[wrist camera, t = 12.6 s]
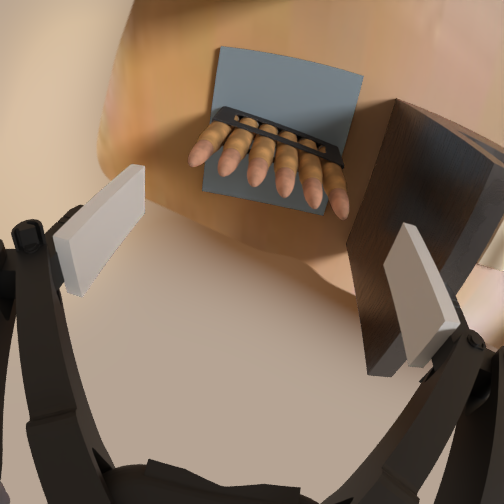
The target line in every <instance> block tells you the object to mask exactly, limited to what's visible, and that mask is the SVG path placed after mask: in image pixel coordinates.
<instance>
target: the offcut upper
mask: <svg viewBox="0 0 504 504" xmlns="http://www.w3.org/2000/svg"><path fill="white" fill-rule="evenodd" d="M477 263H478V264H480V265H484V266H487V267H490V268H493V269H496V270H499V271H502V272H504V214H503V216H502V218H501V220H500V222H499V224H498V226H497V228H496V230H495V231H494V233H493V235H492V237H491V239H490V241H489V242H488V244H487V246H486V248H485V249H484V251H483V253H482V254H481V256H480V258H479V260H478V261H477Z"/></svg>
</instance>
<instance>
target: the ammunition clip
mask: <svg viewBox="0 0 504 504" xmlns="http://www.w3.org/2000/svg"><path fill="white" fill-rule="evenodd" d="M211 122H212V123H211V124H210V125H209V126H208V127H207V128H206V129H205V130H204V131H203V132H202V133H201V134H200V136H199V138H198V141H197V142H196V144H195V145H194V146H193V148H192V149H191V151H190V154H189V157H188V164H189V166H190V167H196V166H199V165H201V164H203V163H204V162H205V161H206V160H207V159H209V157H210V156H211V155H212V154H213V153H215V152H217V151H218V150H219V149H220V148H221V147H222V146H223V152H222V154H221V156H220V158H219V161H218V173H219V175H220V176H222V177H225V176H228V175H230V174H231V173H232V172H233V171H234V170H235V169H236V168H237V166H238V164H239V163H240V161H241V160H242V159H243V158H245V156H246V155H247V154H249V157H248V160H249V164H248V169H247V179H248V183H249V184H250V186H252V187H257V186H258V185H260V184H261V183H262V182H263V180H264V178H265V177H266V175H267V171H268V169H269V167H270V166H271V164H272V163H274V172H275V183H276V189H277V191H278V193H279V195H280V196H281V197H283V198H286V197H288V196H289V195H290V194H291V192H292V190H293V188H294V184H295V177H296V173H297V172H299V180H300V182H301V184H302V188H303V193H304V197H305V199H306V201H307V203H308V205H309V206H310V207H311V208H312V209H317V208H318V207H319V206H320V204H321V201H322V196H323V190H322V184H323V188H324V191H325V193H326V194H327V196H328V199H329V201H330V204H331V207H332V209H333V211H334V213H335V214H336V215H337V217H338V218H340V219H341V220H346V219H347V217H348V214H349V199H348V194H347V183H346V180H345V177H344V175H343V172H342V169H343V168H344V163H343V160H342V157H341V154H340V151H339V148H338V147H337V146H335V145H332V144H330V143H328V142H325V141H323V140H320V139H318V138H315V137H313V136H310V135H308V134H305V133H303V132H300V131H297V130H295V129H292V128H289V127H287V126H284V125H281V124H278V123H276V122H273V121H270V120H267V119H264V118H261V117H258V116H255V115H252V114H249V113H246V112H243V111H240V110H237V109H234V108H230V107H227V106H222V108H221V109H220V110H219V111H218V112H217V114H216V115H215V116H214V117H213V118H212V121H211ZM230 134H231V135H230ZM228 137H229V138H228ZM253 140H254V142H253V145H252V147H251V149H249V148H250V146H251V144H252V141H253ZM275 148H276V152H275ZM274 152H275V157H274ZM341 168H342V169H341Z"/></svg>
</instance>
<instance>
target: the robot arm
mask: <svg viewBox="0 0 504 504" xmlns="http://www.w3.org/2000/svg"><path fill="white" fill-rule="evenodd" d="M144 214H145V166H142V165H136V164H131V165H130V166H128V167H127V168H126V169H125V170H124V171H122V172H121V173H120V174H119V175H118V176H116V177H115V178H114V179H113V180H112V181H111V182H110V183H108V184H107V185H106V186H105V187H104V188H103V189H101V190H100V191H99V192H98V193H97V194H96V195H95V196H94V197H93V198H92V199H90V200H89V201H88V202H87V203H86V204H85V205H78V206H76V207H74V208H72V209H70V210H69V211H68V212H67V213H66V214H65V215H64V216H63V217H62V218H61V219H60V220H59V221H58V223H57V222H56V223H55V224H54V225H53V226H52V227H51V228H50V229H49V230H48V231H47V232H46V233H45V234H44V230H43V225H42V223H41V222H40V221H39V220H34V219H31V220H26V221H23V222H21V223H19V224H17V225H16V226H15V227H14V228H13V229H12V232H11V235H12V239H13V242H14V245H15V249H5V247H4V244H3V242H2V240H1V239H0V480H1V471H2V452H3V448H2V436H3V430H2V429H3V408H4V394H5V382H6V374H7V365H8V358H9V351H10V345H11V339H12V334H13V328H14V323H15V318H16V317H17V332H18V343H19V353H20V362H21V369H22V376H23V383H24V389H25V394H26V399H27V405H28V410H29V415H30V421H29V422H27V424H26V432H27V438H28V442H29V446H30V449H31V453H32V457H33V460H34V463H35V467H36V470H37V473H38V476H39V479H40V482H41V485H42V488H43V491H44V494H45V496H46V499H47V502H48V504H319V503H317V502H316V501H314V500H312V499H310V498H308V497H306V496H304V495H301V494H300V487H288V486H287V487H286V486H278V485H269V484H258V485H247V486H232V487H231V486H230V487H224V486H220V485H218V484H215V483H213V482H211V481H209V480H206V479H204V478H202V477H200V476H198V475H196V474H194V473H192V472H190V471H188V470H186V469H183V468H179V467H175V466H172V465H168V464H165V463H161V462H158V461H154V460H151V459H148V462H147V465H143V464H137V465H126V466H121V467H118V468H115V466H114V464H113V462H112V460H111V458H110V456H109V454H108V452H107V450H106V449H105V447H104V445H103V442H102V440H101V438H100V435H99V432H98V430H97V428H96V425H95V422H94V419H93V416H92V413H91V410H90V408H89V404H88V402H87V398H86V395H85V392H84V389H83V386H82V382H81V379H80V376H79V372H78V369H77V365H76V361H75V357H74V353H73V349H72V345H71V341H70V337H69V332H68V328H67V323H66V318H65V313H64V308H63V303H62V297H61V293H60V290H59V288H60V287H61V285H62V284H63V283H65V286H66V289H67V292H68V293H70V294H73V295H76V296H79V297H83V296H84V294H85V293H86V291H87V290H88V289H89V287H90V286H91V284H92V283H93V281H94V280H95V279H96V277H97V276H98V274H99V273H100V271H101V270H102V269H103V267H104V266H105V265H106V263H107V262H108V261H109V259H110V258H111V256H112V255H113V254H114V252H115V251H116V250H117V248H118V247H119V246H120V244H121V243H122V242H123V240H124V239H125V238H126V237H127V235H128V234H129V233H130V231H131V230H132V229H133V227H134V226H135V225H136V224H137V223H138V221H139V220H140V219H141V217H142V216H143V215H144ZM383 266H384V269H385V272H386V276H387V279H388V283H389V286H390V290H391V294H392V297H393V301H394V305H395V309H396V313H397V317H398V321H399V325H400V329H401V334H402V338H403V342H404V347H405V352H406V356H407V361H408V366H410V367H421V368H423V367H424V366H425V365H426V364H427V363H428V362H429V361H430V360H431V359H432V363H433V367H432V368H431V369H430V370H429V372H428V373H427V374H426V375H425V376H424V377H423V378H422V379H421V380H420V381H419V382H420V383H421V382H422V383H421V384H420V386H419V388H418V389H417V391H416V392H415V394H414V395H413V397H412V398H411V400H410V401H409V403H408V404H407V406H406V407H405V409H404V410H403V411H402V413H401V414H400V416H399V417H398V419H397V420H396V421H395V423H394V424H393V425H392V427H391V428H390V429H389V431H388V432H387V433H386V435H385V436H384V437H383V439H382V440H381V441H380V442H379V444H378V445H377V446H376V448H375V449H374V450H373V451H372V452H371V453H370V455H369V456H368V457H367V458H366V460H365V461H364V462H363V463H362V464H361V465H360V466H359V468H358V469H357V470H356V471H355V472H354V473H353V474H352V476H351V477H350V478H349V479H348V480H347V481H346V482H345V483H344V484H343V485H342V486H341V487H340V488H339V489H338V490H337V491H336V492H335V493H333V494H332V495H331V496H329V497H328V498H327V499H326V500H324V501H323V502H322V503H321V504H419V500H420V499H419V498H418V497H417V493H418V491H419V489H420V488H421V486H422V485H423V483H424V481H425V480H426V478H427V477H428V475H429V473H430V472H431V470H432V468H433V467H434V465H435V463H436V461H437V460H438V458H439V456H440V454H441V453H442V451H443V449H444V447H445V445H446V443H447V441H448V440H449V438H450V436H451V434H452V431H453V430H454V428H455V426H456V429H455V434H454V438H453V442H452V446H451V450H450V453H449V457H448V461H447V464H446V468H445V472H444V474H443V478H442V481H441V484H440V487H439V490H438V493H437V496H436V499H435V501H434V504H504V346H502V347H501V348H500V349H499V350H498V351H497V352H496V353H495V352H493V351H491V350H489V349H487V348H486V345H485V342H484V340H483V339H482V337H481V336H480V335H479V334H478V333H477V332H475V331H474V330H470V329H469V327H468V325H467V322H466V320H465V317H464V315H463V312H462V310H461V308H460V305H459V303H458V302H457V298H456V296H455V294H454V292H453V290H452V289H451V288H450V287H449V285H448V284H447V283H444V282H443V280H442V278H441V276H440V274H439V271H438V269H437V267H436V265H435V263H434V261H433V259H432V257H431V255H430V253H429V251H428V249H427V247H426V245H425V243H424V241H423V239H422V237H421V235H420V233H419V231H418V229H417V227H416V226H414V225H411V224H407V223H404V222H403V224H402V226H401V228H400V231H399V233H398V235H397V237H396V239H395V241H394V244H393V246H392V248H391V250H390V252H389V254H388V256H387V258H386V260H385V262H384V264H383ZM0 504H10V498H9V496H8V494H7V492H6V491H5V488H4V486H3V484H2V483H1V482H0Z"/></svg>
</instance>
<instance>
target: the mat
mask: <svg viewBox="0 0 504 504" xmlns="http://www.w3.org/2000/svg"><path fill="white" fill-rule="evenodd" d="M363 77H364V76H362V75H359V74H355V73H352V72H349V71H345V70H342V69H338V68H334V67H331V66H327V65H323V64H319V63H315V62H310V61H306V60H302V59H297V58H292V57H287V56H282V55H277V54H272V53H266V52H260V51H254V50H247V49H240V48H232V47H223V46H221V49H220V55H219V61H218V67H217V74H216V81H215V88H214V95H213V102H212V109H211V117H210V124H211V123H212V122H211V121H212V118H213V117H214V116H215V115H216V114H217V112H218V111H219V110H220V109H221V108H222V106H227V107H230V108H234V109H237V110H240V111H243V112H246V113H249V114H252V115H255V116H258V117H261V118H264V119H267V120H270V121H273V122H276V123H278V124H281V125H284V126H287V127H289V128H292V129H295V130H297V131H300V132H303V133H305V134H308V135H310V136H313V137H315V138H318V139H320V140H323V141H325V142H328V143H330V144H332V145H335V146H337V147H338V148H339V151H340V154H341V157H342V153H343V150H344V146H345V143H346V140H347V136H348V133H349V129H350V125H351V122H352V118H353V115H354V111H355V107H356V104H357V100H358V96H359V92H360V89H361V85H362V81H363ZM230 135H231V134H230ZM228 138H229V137H228ZM253 142H254V140H253V141H252V144H251V146H250V148H249V149H251V147H252V145H253ZM222 152H223V146H222V147H221V148H220V149H219V150H218V151H217V152H215V153H213V154H212V155H211V156H210V157H209V159H207V160H206V161H205V168H204V177H203V187H202V191H206V192H211V193H216V194H222V195H227V196H232V197H237V198H242V199H247V200H252V201H257V202H262V203H267V204H272V205H277V206H281V207H286V208H291V209H295V210H300V211H304V212H309V213H313V214H318V215H322V216H323V215H324V212H325V208H326V205H327V202H328V196H327V194H326V193H325V191H324V188H323V184H322V190H323V196H322V201H321V204H320V206H319V207H318V208H317V209H312V208H311V207H310V206H309V205H308V203H307V201H306V199H305V197H304V193H303V188H302V184H301V182H300V180H299V172H297V173H296V177H295V184H294V188H293V190H292V192H291V194H290V195H289V196H288V197H286V198H283V197H281V196H280V195H279V193H278V191H277V189H276V183H275V172H274V163H272V164H271V166H270V167H269V169H268V171H267V175H266V177H265V178H264V180H263V182H262V183H261V184H260V185H258V186H257V187H252V186H250V184H249V183H248V179H247V169H248V164H249V160H248V157H249V154H247V155H246V156H245V158H243V159H242V160H241V161H240V163H239V164H238V166H237V168H236V169H235V170H234V171H233V172H232V173H231V174H230V175H228V176H225V177H222V176H220V175H219V173H218V161H219V158H220V156H221V154H222ZM275 152H276V148H275ZM275 152H274V157H275Z"/></svg>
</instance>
